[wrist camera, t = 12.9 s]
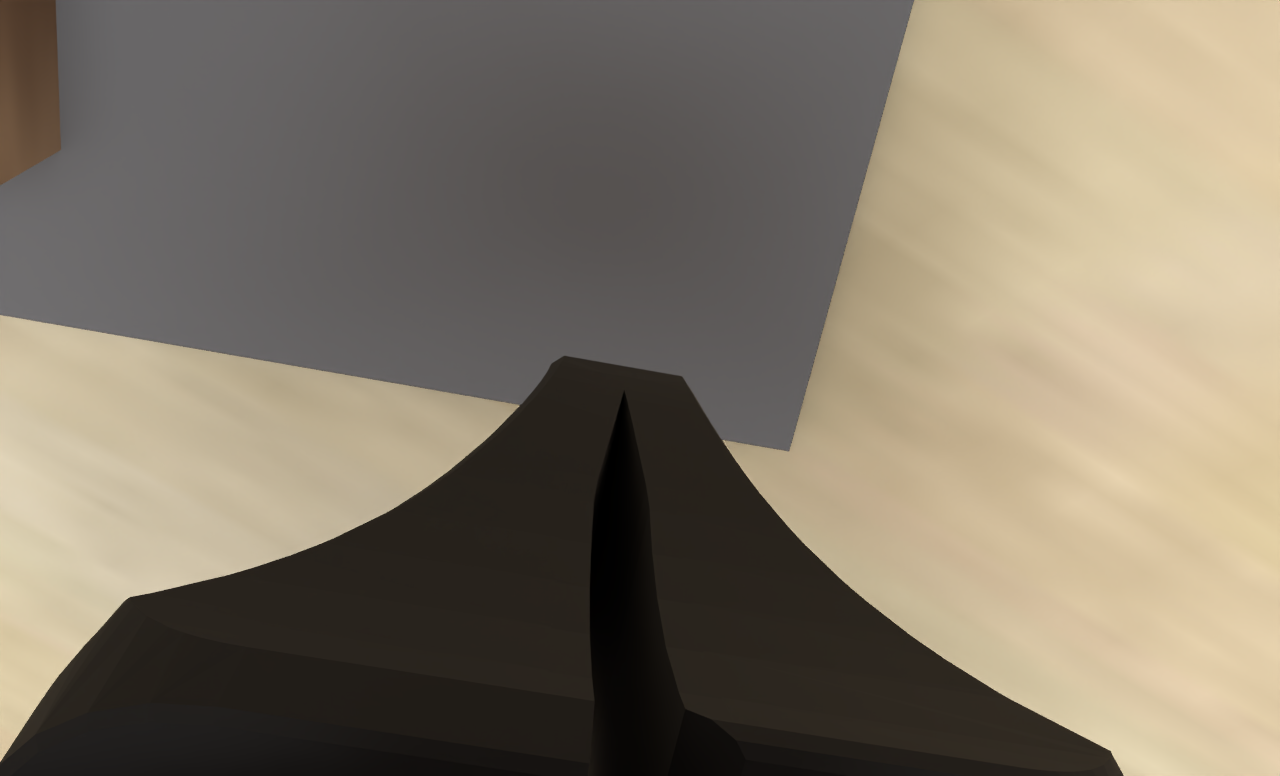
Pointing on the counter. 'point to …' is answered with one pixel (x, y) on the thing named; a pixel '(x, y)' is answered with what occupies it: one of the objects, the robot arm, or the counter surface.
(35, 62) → the letter cube
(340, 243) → the mat
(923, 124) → the counter surface
